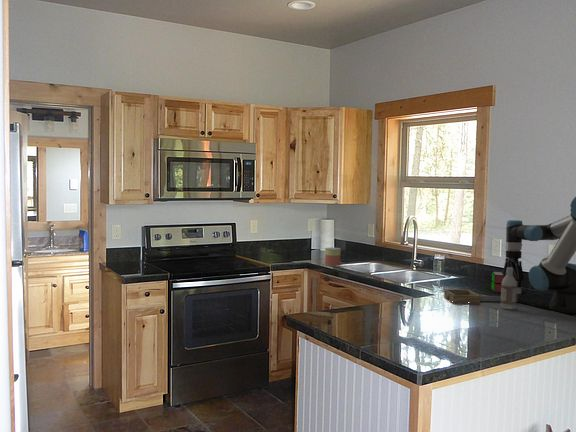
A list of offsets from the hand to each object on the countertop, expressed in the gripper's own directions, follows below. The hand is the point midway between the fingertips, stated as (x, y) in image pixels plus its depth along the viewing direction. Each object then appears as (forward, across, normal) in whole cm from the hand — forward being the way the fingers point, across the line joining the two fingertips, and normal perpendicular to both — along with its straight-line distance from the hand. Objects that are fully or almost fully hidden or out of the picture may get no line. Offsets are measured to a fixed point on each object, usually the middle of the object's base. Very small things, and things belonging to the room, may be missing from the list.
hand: (512, 291), depth 285 cm
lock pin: (+5, +1, +9) cm, 10 cm away
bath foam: (+6, -14, +8) cm, 18 cm away
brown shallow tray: (+5, +1, +26) cm, 27 cm away
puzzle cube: (+5, +30, -7) cm, 31 cm away
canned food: (+3, +118, +81) cm, 143 cm away
